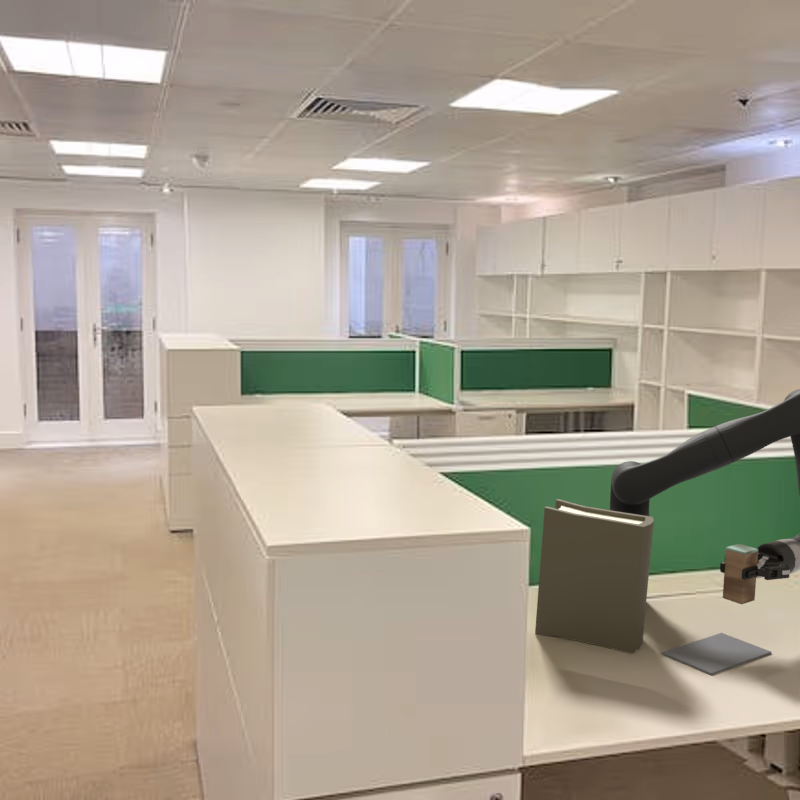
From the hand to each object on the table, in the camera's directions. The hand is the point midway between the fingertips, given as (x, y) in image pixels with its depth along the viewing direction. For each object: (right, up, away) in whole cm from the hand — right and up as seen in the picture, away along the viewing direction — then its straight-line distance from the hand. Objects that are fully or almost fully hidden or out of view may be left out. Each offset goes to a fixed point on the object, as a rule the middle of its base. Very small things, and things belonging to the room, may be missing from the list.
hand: (732, 571), depth 187 cm
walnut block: (+2, -6, +2) cm, 7 cm away
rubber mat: (-3, -17, 0) cm, 17 cm away
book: (-27, -16, +8) cm, 33 cm away
